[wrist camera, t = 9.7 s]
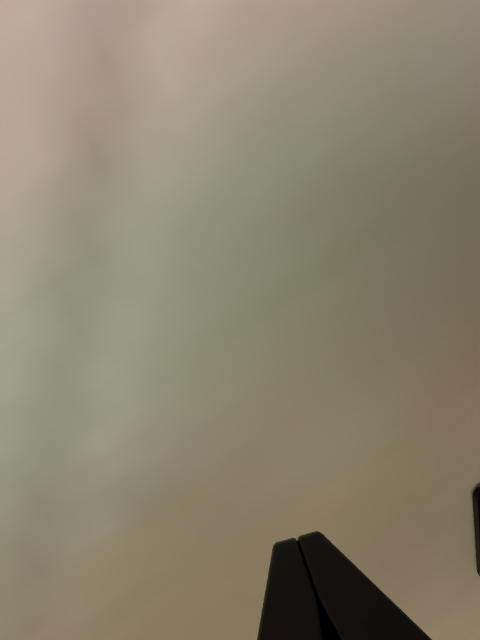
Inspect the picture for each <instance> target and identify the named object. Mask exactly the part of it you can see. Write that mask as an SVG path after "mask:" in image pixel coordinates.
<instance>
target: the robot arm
mask: <svg viewBox="0 0 480 640" xmlns="http://www.w3.org/2000/svg"><path fill="white" fill-rule="evenodd" d="M473 509H474V526H475V542H476V558H477V572H478V574H479V576H480V487H479V488H477V489H476V490H475V491H474V493H473ZM297 541H298V542H297ZM257 640H432V639H431V638H430V637H429V636H428V635H427V634H426V633H424V632H423V631H422V630H421V629H420V628H419V627H418V626H417V625H416V624H415V623H414V622H413V621H412V620H411V619H410V618H409V617H408V616H407V615H406V614H405V613H404V612H403V611H402V610H401V609H400V608H399V607H398V606H397V605H395V604H394V603H393V602H392V601H391V600H390V599H389V598H388V597H387V596H386V595H385V594H384V593H383V592H382V591H381V590H380V589H379V588H378V587H377V586H376V585H375V584H374V583H373V582H372V581H371V580H370V579H369V578H368V577H366V576H365V575H364V574H363V573H362V572H361V571H360V570H359V569H358V568H357V567H356V566H355V565H354V564H353V563H352V562H351V561H350V560H349V559H348V558H347V557H346V556H345V555H344V554H343V553H342V552H341V551H340V550H339V549H337V548H336V547H335V546H334V545H333V544H332V543H331V542H330V541H329V540H328V539H327V538H326V537H325V536H324V535H323V534H322V533H320V532H318V531H315V532H312V533H308V534H305V535H301V536H299V537H298V540H296V539H295V538H290V539H287V540H283V541H280V542H276V543H275V544H274V546H273V549H272V555H271V561H270V567H269V573H268V579H267V585H266V591H265V596H264V602H263V608H262V614H261V620H260V626H259V632H258V637H257Z"/></svg>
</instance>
